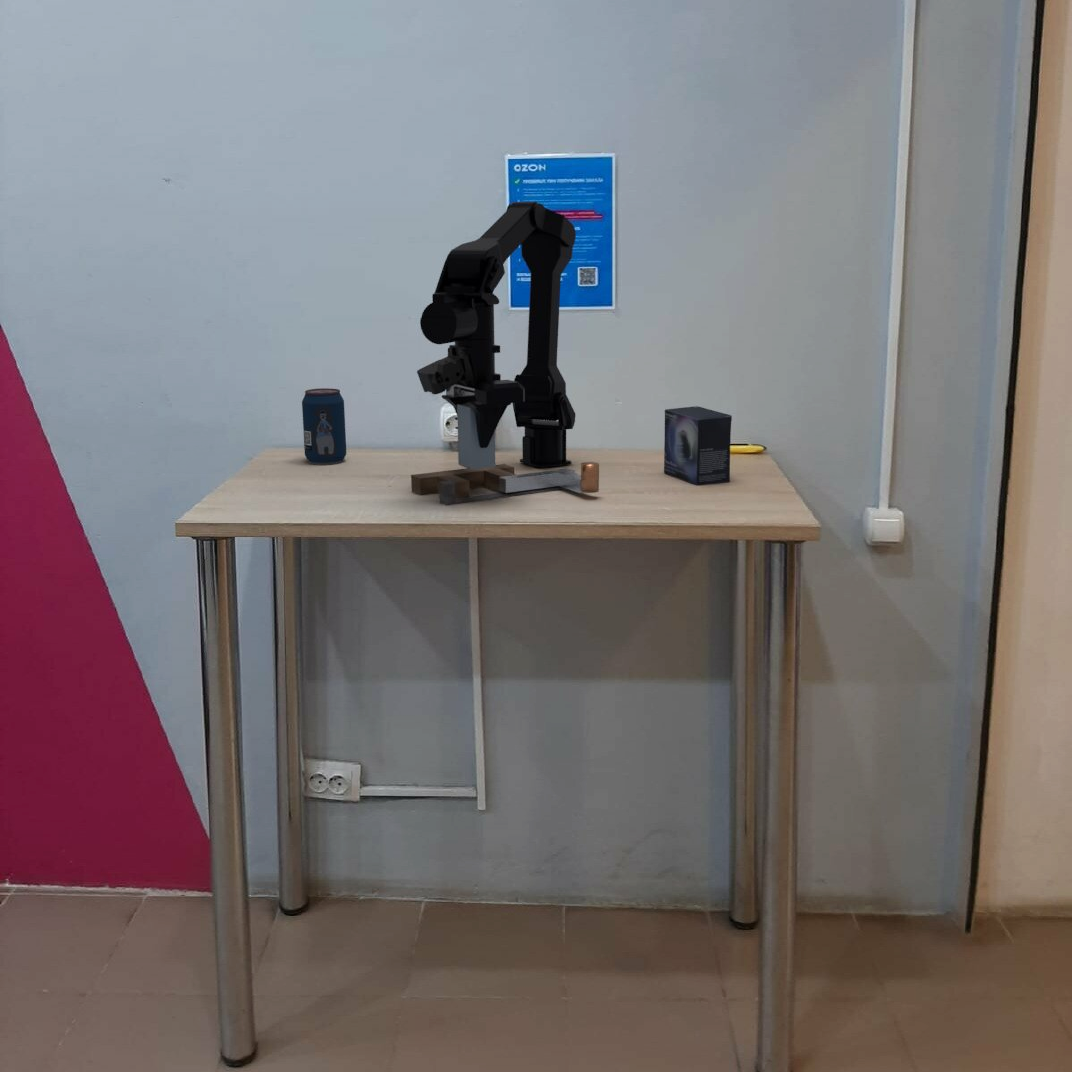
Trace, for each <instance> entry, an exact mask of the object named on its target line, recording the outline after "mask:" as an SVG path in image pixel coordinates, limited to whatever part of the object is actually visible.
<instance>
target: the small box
mask: <svg viewBox="0 0 1072 1072" xmlns="http://www.w3.org/2000/svg"><path fill="white" fill-rule="evenodd" d="M732 419H733V417H732V415H731V414H728V413H723V412H721V411H720V412H719V411H717V410H716V411H715V410H712V409H709V408H705V407H702V406H697V405H695V406H687V407H678V408H677V407H676V408H668V409H667V408H666V409H664V445H663V446H664V451H663V455H664V459H663V460H664V462H663V473H665V474H667V475H670V476H672V477H674V478H676V479H679V480H682V481H683V482H684V481H685V482H687V483H690V484H693V485H695V486H702V485H704V486H705V485H715V484H723V483H730V482H731V477H730V476H731V475H730V474H731V442H732V441H731V435H732V433H731V430H732V421H733V420H732Z"/></svg>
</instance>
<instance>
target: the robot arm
mask: <svg viewBox="0 0 1072 1072" xmlns="http://www.w3.org/2000/svg"><path fill="white" fill-rule="evenodd" d="M576 233H577V232H576V227H575V226H574V225H573V223H572V222H571V221H570V220H569V218H567V217H566V216H564V215H563V214H561V213H559V212H556V211H554V210H550V209H549V208H547V207H545V206H544V205H543V204H542V203H539V202H538V201H514V202H512V203H509V204H508V206H507V208H506V211H505V212H503V214H502V215H501V216H500V217H499V218H498V219H497V220H496V221H495V222H493V224H492V225H491V226H490V227H489V228H488V229H487V230H486V231H485V232H484V233H483V234H482V235H481V236H480V237H479V238H477V239H475V240H471V241H469V242H465V243H462V244H460V245H458V246H456V247H454V248H453V249H451V250H450V252H449V253H448V254H447V256H446V259H445V261H444V263H443V266H442V270H441V273H440V276H439V279H438V282H437V284H436V287H435V291H434V293H432V302H431V303H429V304H428V305H427V306H426V307H425V308H424V309H423V312H422V314H421V317H420V321H419V325H420V330H421V331H422V334H423V336H424V337H425V339H427V340H428V341H429V342H431V343H432V344H435V345H443V344H449V345H448V346H449V347H448V348H447V356H446V357H444V358H441V359H438V360H436V361H434V362H431V363H429V364H427V365H425V366H423V367H421V368H419V369H418V370H417V371H416V374H417V376H418V379H419V381H420V384H421V387H422V390H423V392H424V393H427V392H428V393H431V394H432V395H438V394H439V395H440V394H442V393H444V392H445V394H443V395H441V398H442V399H443V400H445V401H446V402H447V403H449V405H451V406H452V407H453V409H454V411H455V413H456V415H457V404H468V405H469V407H470V408H471V409H472V410H473V411H474V412H475V415H476V424H477V432H478V439H479V445H480V447H481V448H487V447H488V445H489V443H490V441H491V438H492V436H493V434H494V432H495V433H496V429H497V427H498V425H499V423H500V421H501V419H502V417H503V415H504V414H505V412H506V409H507V408H508V406H511V405H512V407H513V414H514V418H515V424H516V427H517V428H524V436H522V445H521V446H522V458H519V463H522V464H525V465H528V466H532V467H535V468H538V469H543V468H550V467H559V466H567V465H571V464H572V461H571V460H568V459H567V430H572V429H574V426H575V422H576V412H575V409H574V407H573V406H572V404H571V402H570V399H569V397H568V395H567V388H566V387H567V385H566V384H567V383H566V381H565V379H564V376H563V375H562V373H561V371H560V369H559V368H558V364H557V363H558V345H559V344H558V343H559V323H560V321H559V320H560V319H559V318H560V302H561V300H560V299H561V279H562V274H563V273H564V270H566V267H568V265H569V263H570V262H571V260H572V258H573V250H574V249H573V248H574V245H575V243H576V236H577V235H576ZM519 247H521V248H520V249H521V251H520V253H521V257H522V259H523V261H524V263H525V265H526V267H527V269H528V270H529V273H530V282H529V283H530V284H529V285H530V287H529V305H528V306H529V307H528V328H527V329H528V331H527V354H526V365H525V367H524V368H523V370H522V371H521V373H520V374H516V375H515V378H514V380H510V379H501V378H502V377H501V376H502V375H501V373H496V365H495V363H496V361H495V360H496V359H495V358H496V357H495V355H496V354H499V353H501V345H499V344H495V307H494V306H495V305H499V304H500V299H499V297H498V296H497V295H496V294H495V293H494V291H495V289H496V288H497V287H498V285H499V284H500V281H501V280H502V278H503V277H504V275H505V274H506V271H505V266H504V264H505V262H506V261H507V260H508V259H509V257H511V255H512V254H514V252H515V251H516V250H517V249H518V248H519ZM451 343H454V344H451Z"/></svg>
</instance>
